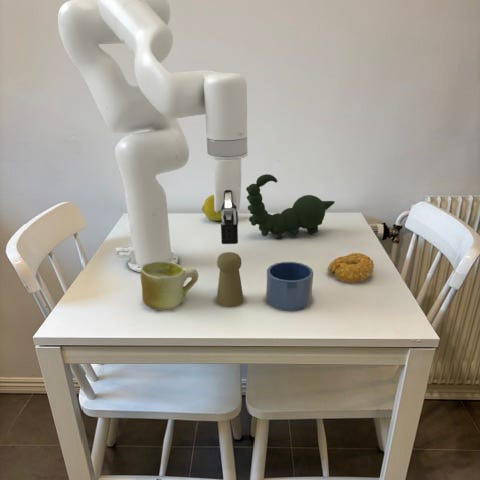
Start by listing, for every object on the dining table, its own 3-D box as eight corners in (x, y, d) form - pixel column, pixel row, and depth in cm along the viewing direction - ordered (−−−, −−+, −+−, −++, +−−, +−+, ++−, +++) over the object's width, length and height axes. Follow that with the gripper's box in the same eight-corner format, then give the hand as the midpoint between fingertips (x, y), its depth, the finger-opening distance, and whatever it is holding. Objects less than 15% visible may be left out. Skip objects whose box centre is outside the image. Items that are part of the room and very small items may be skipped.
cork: (240, 308, 104) (240, 261, 98) (213, 305, 105) (211, 259, 99) (246, 295, 109) (245, 250, 103) (220, 292, 110) (218, 248, 104)
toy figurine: (255, 249, 135) (340, 235, 138) (249, 182, 125) (341, 168, 128) (248, 236, 143) (329, 223, 146) (242, 173, 133) (329, 160, 136)
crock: (267, 311, 103) (268, 281, 99) (265, 289, 111) (266, 261, 108) (313, 310, 103) (316, 281, 99) (307, 289, 111) (309, 261, 108)
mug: (132, 308, 100) (138, 261, 98) (140, 299, 110) (147, 256, 108) (190, 318, 101) (198, 272, 99) (193, 308, 111) (200, 266, 109)
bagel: (334, 263, 123) (336, 245, 121) (377, 271, 119) (380, 253, 116) (321, 278, 116) (322, 260, 113) (366, 288, 111) (369, 269, 109)
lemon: (203, 225, 147) (202, 199, 143) (201, 216, 154) (199, 191, 150) (238, 223, 149) (238, 197, 145) (234, 214, 155) (234, 190, 151)
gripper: (209, 139, 97) (213, 220, 106) (204, 158, 82) (209, 251, 91) (246, 138, 97) (247, 220, 106) (248, 157, 82) (249, 250, 91)
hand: (230, 234), depth 99 cm, fingers open, 9 cm apart
